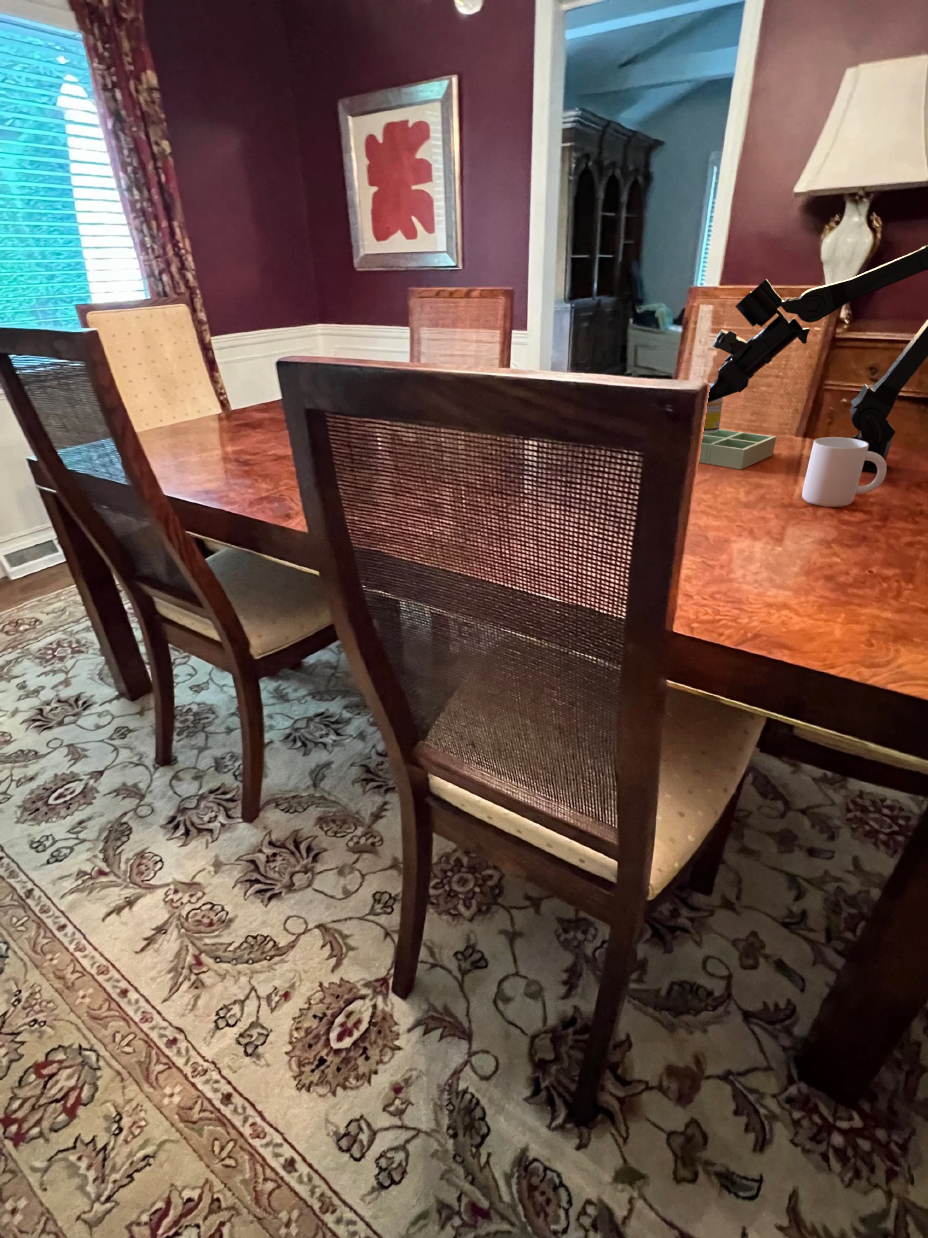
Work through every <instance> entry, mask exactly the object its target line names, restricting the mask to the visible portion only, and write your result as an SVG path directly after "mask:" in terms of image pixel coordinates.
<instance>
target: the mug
mask: <svg viewBox="0 0 928 1238" xmlns="http://www.w3.org/2000/svg"><path fill="white" fill-rule="evenodd" d="M868 446H869V444H868V443H867V442H864V441H861V440H857V439H853V438H851V437H841V436H840V437H839V436H828V437H819V438H815V439H814V440H813V443H812V448H811V452H810V455H809V460H808V465H807V469H806V474H805V478H804V483H803V486H802V492H801V498H802V499H803V501H805V502H806V503H809V504H811V505H814V506H818V507H826V508H842V507H847V506H849V505H851V504H852V503H853V502H854V499H855V497H856V495H865V494H869V493H871V492H873V491H875V490H876V489H878V488H879V487H880V486H881V484H883V482H884V480H885V478H886V475H887V470H888V469H887V467H888V466H886V463H887V461H886V462H885V460H884V459H883V457H882V456H880V455H879V454H877V453H875V452H871V451H867V450H868ZM865 460H867V461H872V462H874V463H875V464H876V466H877V472H876V474H875V475H876V476H875V477H874V479H873V480H872V481H871V482H870V483H869V484H866V485H859V483H860V479H861V476H862V471H863V470H862V468H863V464H864V461H865Z"/></svg>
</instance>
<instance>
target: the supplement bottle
mask: <svg viewBox="0 0 928 1238" xmlns="http://www.w3.org/2000/svg"><path fill="white" fill-rule="evenodd" d="M708 384H709V385H710V388H711V387H712V386H713V385H714V384H713V383H708ZM723 398H724V397H722V398H719V399H717V400H714V401H712V402H709V403H707V413H706V419H705V426H704V432H703V434H709V433H716V432H718V430H719V429H720V423H721V416H722V409H723V408H722V407H723V400H724V399H723Z"/></svg>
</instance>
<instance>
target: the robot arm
mask: <svg viewBox="0 0 928 1238" xmlns="http://www.w3.org/2000/svg"><path fill="white" fill-rule="evenodd" d="M924 271H928V244H926V245H923V246H922V247H921V248H919V249H917V250H915V251H913V252H910V253H908V254H906V255H903V256H901V257H898V258H896V259H894V260H892V261H889V262H886V263H884V264H881V265H879V266H877V267H875V268H872V269H870V270H868V271H865V272H863V273H861V274H858V275H856V276H854V277H851V278H848V279H846V280H841V281H837V282H833V283H829V284H824V285H820V286H817V287H813V288H810V289H806V290H805V291H804V292H802V294H801V295H800V296H798V297H797V296H796V297H792V298H789V297H787V298H784V299H782V298H781V296H780V295H779V294H778V293H777V291H775V289H774V288H773V287H772V285H771V283H770V282H769V280H768V279H764V280H763V281H761V283H760V284H759V285H757V287H755V288H754V289H753V290H752V291H749V292H748V293H747V295H745V296H744V297H743V298H742V299H741V300H740V301H739V302H738V303H736V305H735V306H734V307H735V309H737V311H738V312H739V313H740V314H741V315H742V316H743V318H744V319H745V320H746V321H747V322H748V323H749V324H750V325H751V327H752V328H753V327H755V326H756V325H757V326H759V327H760V328H762V327H763V326H765V324H767V323H768V322H769V321H770V320H771V319H772V318H773V317H775V316H776V315H778V316H777V317H775V319H773V320H772V321H771V322H769V324H768V325H766V326H765V327H764V328H763V329H762V330H761V331H759V333H758V334H756V335H755V336H751V337H750V338H749V339H747V340H745V339H744V338H741V337H740V336H738V333H737V332H734V331H732V330H731V329H730V330H729V331H727V330H726V329H720V331H719V332H718V335H717V336H716V338H715V339H714V342H713V343H712V347H713V348H715V349H717V350H721V351H723V352H725V353H728V354H729V355H728V356H727V357H726V358H725V359H724V362H722V363H721V367H720V368H719V369H718V372H717V378H716V379H715V380H714V382H713V383H712V384H714V385H713V386H712V387H711V388H710V392H709V398H708V403H709V402H712V401H714V400H717V399H719V398H725V397H728V396H731V395H733V394H736V393H741V392H743V391H744V390H745V389H746V388H747V387H748V386H749V382H750V380H751V379H752V378H753V377H754V376H755V374H756V373H758V372H759V371H760V370H761V369H763V367H765V366H766V365H769V364H770V363H771V362H772V361H773V359H774V358H775V357H777V355H779V354H780V353H781V352H782V351H783V350H785V349H786V348H787V347H788V346H789V345H790V344H792V343H793V342H794V341H795V340H796V339H798V340H799V341H800V342H801V343H802V345H806V344H807V343H808V335H809V333H810V331H811V329H810V327H803V326H802V325H801V324H800V323H799V321H798V320H797V319H796V318H795V317H793V318H791V319H789V320H788V318H787V317H786V316H785V315H784V314H783V313H782V312H781V310H780V309H779V308H780V307H781V308H782V309H783V311H784V312H785V313H786V314H793V315H797V318H798V319H800V320H801V322H802V321H803V322H805V323H808V324H809V323H810V324H812V323H816V322H818V321H820V320H822V319H824V318H825V317H827V316H829V315H830V314H832V313H834V312H836V311H838V310H839V309H840V308H842V307H844V306H845V305H848V303H850V302H852V301H854V300H856V299H858V298H860V297H861V298H862V297H863V296H866V295H869V294H870V293H871V294H872V293H873V292H875V291H878V290H881V289H883V288H885V287H888V286H890V285H893V284H896V283H897V282H901V281H903V280H905V279H907V278H910V277H913V276H915V275H917V274H920V273H922V272H924ZM927 358H928V319H927V320H925V322H924V323H923V325H922V326H921V327H920V329H919V330H918V331H917V332H916V334H915V335H914V336H913V338H912V339H911V340H910V341H909V343H908V344H907V345H906V346H905V348H904V349H903V351H902V352H900V354H899V355H898V357H897V358H896V360H895V361H894V362H893V363H892V365H890V367H889V368H888V370H886V372H885V373H884V375H883V376H881V378H880V379H879V380H878V381H877V382H876V383H874V384H873V385H871V386H870V385H868V384H867V383H864V384H863V386H862V388H861V389H860V391H859V393H858V394H857V395H856V397H854V399H851V400H850V403H851V407H850V408H849V411H848V414H849V419H850V422H851V424H852V426H853V427H854V428H855V429H856V430H857V433H856V434H855V435H853V437H852V439H857V440H861V441H864V442H867V443H868V444H869V446H868V450H867V451H871V452H875V453H877V454H879V455H880V456H882V457H883V459H884V460H885V462H886V467H888V463H887V458H888V455H889V452H890V448H891V445H892V441H893V437H894V436H895V434H896V430H895V429H894V428H893V426H892V424H891V422H889V420H888V416H890V414H891V411H892V410H893V408H894V406H895V404H896V401H897V400H898V397H899V395H900V393H901V391H902V389H903V388H904V387H905V386H906V384H907V383H908V382H909V381H910V379H911V378H912V377H913V376H914V375H915V374H916V372H917V371H918V370H919V368H920V367H921V366H922V365H923V363H924V362H925V361H926V360H927ZM862 471H866V472H873V473H877V466H876V464H875V463H874V462H872V461H867V460H865V461H864V464H863V468H862Z"/></svg>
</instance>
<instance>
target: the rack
mask: <svg viewBox="0 0 928 1238" xmlns="http://www.w3.org/2000/svg"><path fill="white" fill-rule="evenodd" d="M776 441H777V435H776V436H775V435H767V434H759V433H754V432H753V433H752V432H744V431H737V430H730V429H721V428H719V430H718V432H716V433H709V434H703V439H702V444H701V454H700V460H699V462H698V463H700V464H706V465H713V466H719V467H725V468H730V469H737V470H743V469H746V468H747V467H750V466H752V465H753V464H756V463H758V462H761V461H763V460H765V459H768V458H770V457H771V456H774V451H775V446H776Z"/></svg>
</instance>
